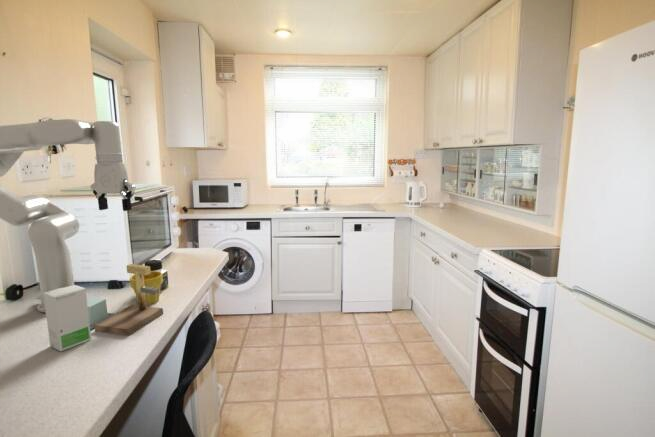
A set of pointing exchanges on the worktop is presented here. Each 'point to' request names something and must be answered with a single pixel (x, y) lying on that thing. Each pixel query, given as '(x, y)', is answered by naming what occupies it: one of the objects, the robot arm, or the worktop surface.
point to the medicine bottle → (157, 266)
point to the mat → (100, 321)
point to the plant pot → (149, 285)
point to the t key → (141, 283)
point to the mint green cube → (96, 310)
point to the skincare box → (67, 317)
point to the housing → (128, 320)
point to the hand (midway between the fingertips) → (115, 209)
